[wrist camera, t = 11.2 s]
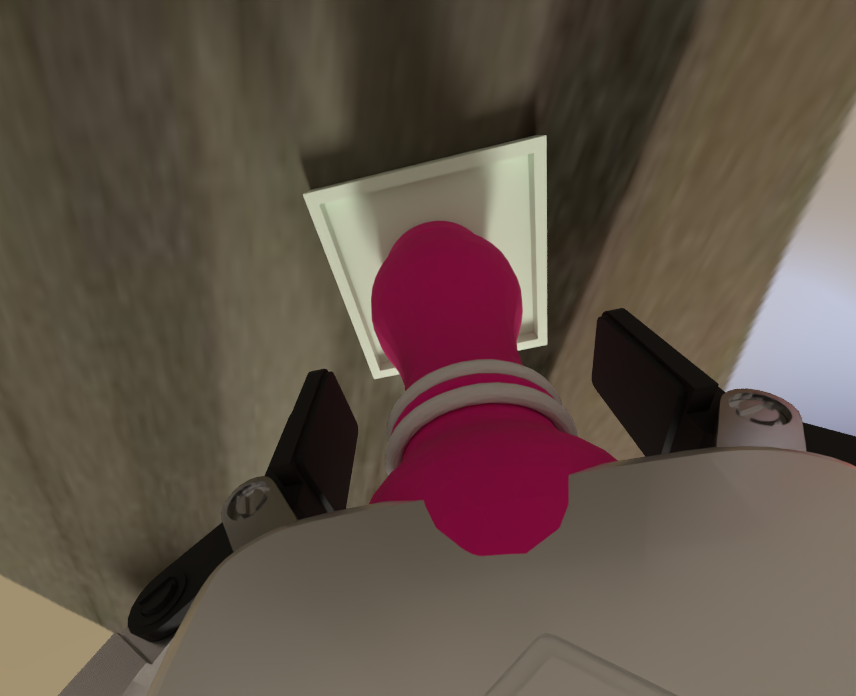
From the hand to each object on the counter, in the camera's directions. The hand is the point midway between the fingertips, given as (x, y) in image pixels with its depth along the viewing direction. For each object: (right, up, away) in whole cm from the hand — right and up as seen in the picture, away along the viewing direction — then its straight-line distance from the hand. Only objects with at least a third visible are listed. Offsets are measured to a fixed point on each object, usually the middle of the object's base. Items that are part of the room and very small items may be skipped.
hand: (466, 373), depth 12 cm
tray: (-1, +6, +9) cm, 10 cm away
